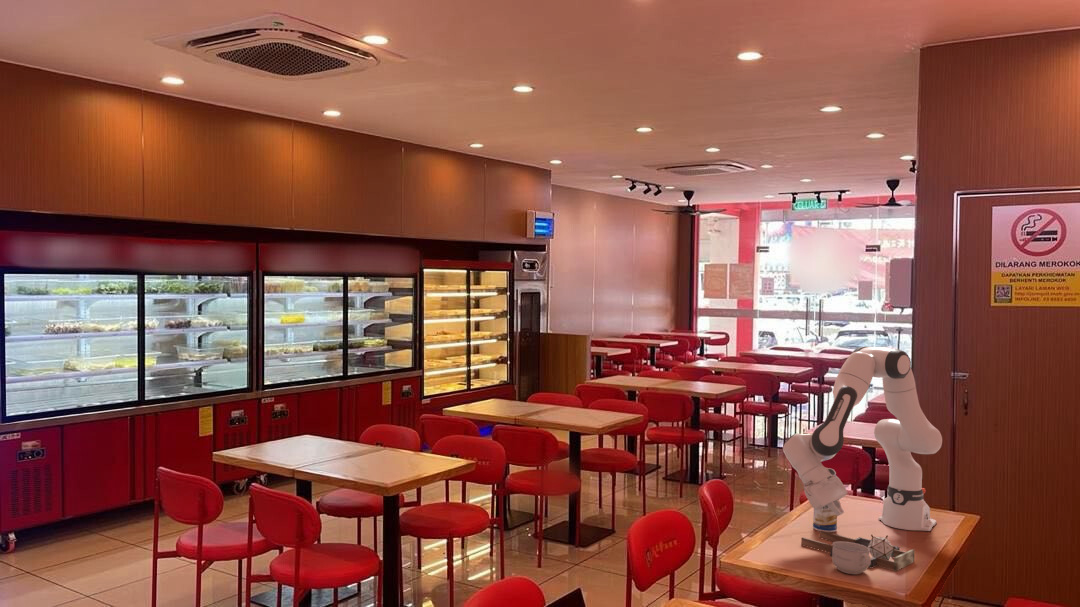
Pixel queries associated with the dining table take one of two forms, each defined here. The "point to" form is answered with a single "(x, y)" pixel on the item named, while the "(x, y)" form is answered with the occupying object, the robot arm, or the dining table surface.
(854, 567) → the teacup
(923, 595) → the dining table surface
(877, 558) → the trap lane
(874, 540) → the game die
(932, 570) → the dining table surface
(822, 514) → the beverage bottle
